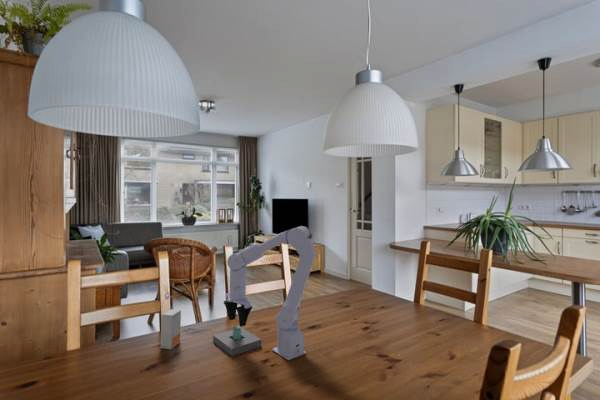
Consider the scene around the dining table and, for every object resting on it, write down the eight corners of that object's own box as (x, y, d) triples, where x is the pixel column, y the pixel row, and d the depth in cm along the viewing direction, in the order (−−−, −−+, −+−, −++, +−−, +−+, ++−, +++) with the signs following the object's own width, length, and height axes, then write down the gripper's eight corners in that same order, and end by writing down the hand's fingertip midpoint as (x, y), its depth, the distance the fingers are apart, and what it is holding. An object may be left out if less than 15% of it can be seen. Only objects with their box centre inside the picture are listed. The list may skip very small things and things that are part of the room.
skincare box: (171, 349, 114) (171, 315, 114) (160, 348, 115) (160, 314, 115) (180, 342, 120) (181, 309, 120) (170, 341, 121) (170, 309, 121)
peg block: (261, 346, 118) (261, 339, 118) (231, 356, 110) (231, 349, 110) (241, 333, 128) (241, 327, 128) (213, 342, 120) (213, 335, 120)
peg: (242, 344, 119) (242, 328, 119) (235, 346, 117) (235, 330, 117) (238, 341, 121) (238, 325, 121) (231, 343, 119) (231, 327, 119)
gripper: (218, 283, 122) (218, 319, 122) (238, 292, 111) (237, 331, 111) (235, 280, 126) (234, 315, 126) (255, 288, 115) (255, 326, 115)
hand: (237, 322), depth 119 cm, fingers open, 7 cm apart
